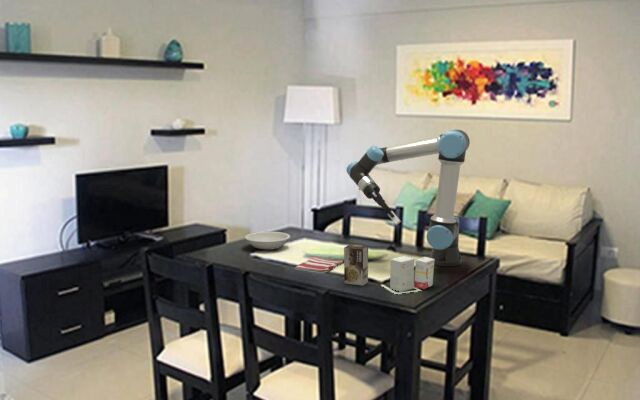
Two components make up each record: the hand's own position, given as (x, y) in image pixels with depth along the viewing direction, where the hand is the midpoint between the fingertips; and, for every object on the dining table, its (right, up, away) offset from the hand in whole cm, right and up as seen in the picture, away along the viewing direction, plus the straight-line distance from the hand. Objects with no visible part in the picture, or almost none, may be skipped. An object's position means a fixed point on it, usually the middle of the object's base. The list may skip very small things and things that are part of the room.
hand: (398, 222), depth 277 cm
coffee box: (-20, -26, -10) cm, 34 cm away
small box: (-1, -27, -19) cm, 33 cm away
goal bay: (-1, -27, -18) cm, 32 cm away
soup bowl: (-63, -16, +52) cm, 83 cm away
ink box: (+9, -27, -16) cm, 32 cm away
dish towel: (-35, -22, +18) cm, 45 cm away
